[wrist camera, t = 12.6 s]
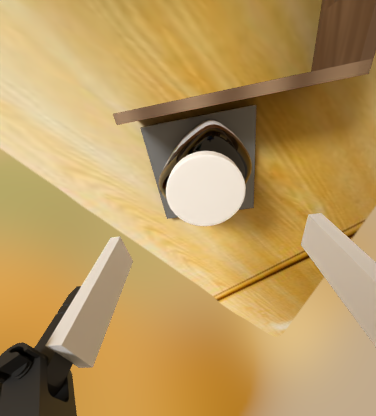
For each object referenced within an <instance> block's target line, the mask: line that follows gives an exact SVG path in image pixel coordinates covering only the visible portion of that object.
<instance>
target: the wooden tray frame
mask: <svg viewBox="0 0 376 416" xmlns="http://www.w3.org/2000/svg"><path fill="white" fill-rule="evenodd" d="M375 51H376V0H322V7H321V13H320V19H319V26H318V32H317V38H316V45H315V51H314V57H313V64H312V70H311V72H307V73H303V74H298V75H293V76H289V77H284V78H279V79H275V80H270V81H265V82H261V83H256V84H251V85H246V86H242V87H237V88H232V89H228V90H223V91H218V92H214V93H209V94H204V95H200V96H195V97H190V98H186V99H181V100H176V101H171V102H167V103H162V104H157V105H153V106H148V107H143V108H139V109H134V110H129V111H125V112H120V113H115V114H113V116H114V119H115V121H116V124H117V125H119V124H124V123H129V122H134V121H139V120H144V119H149V118H154V117H159V116H164V115H168V114H173V113H178V112H183V111H188V110H193V109H198V108H203V107H208V106H213V105H218V104H222V103H227V102H232V101H237V100H242V99H247V98H252V97H257V96H262V95H267V94H272V93H276V92H281V91H286V90H291V89H296V88H301V87H306V86H311V85H316V84H321V83H325V82H330V81H335V80H340V79H345V78H350V77H355V76H360V75H365V74H369V72H370V68H371V65H372V62H373V58H374V55H375Z"/></svg>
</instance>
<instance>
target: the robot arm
mask: <svg viewBox="0 0 376 416" xmlns="http://www.w3.org/2000/svg"><path fill="white" fill-rule="evenodd" d="M301 246H302V247H303V248H304V250H305V251H306V252H307V254H308V255H309V257H310V258H311V259H312V261H313V262H314V263H315V265H316V266H317V267H318V269H319V270H320V272H321V273H322V274H323V276H324V277H325V278H326V280H327V281H328V282H329V284H330V285H331V287H332V288H333V289H334V291H335V292H336V293H337V295H338V296H339V297H340V299H341V300H342V302H343V303H344V304H345V306H346V307H347V308H348V310H349V311H350V313H351V314H352V315H353V317H354V318H355V319H356V321H357V322H358V323H359V325H360V326H361V328H362V329H363V330H364V332H365V333H366V334H367V336H368V337H369V339H370V340H371V341H372V343H373V344H374V345H375V346H376V262H375V261H374V260H373V259H372V258H371V257H369V256H368V255H367V254H366V253H365V252H364V251H363V250H362V249H361V248H359V247H358V246H357V245H356V244H355V243H354V242H353V241H352V240H351V239H349V238H348V237H347V236H346V235H345V234H344V233H343V232H342V231H341V230H339V229H338V228H337V227H336V226H335V225H334V224H333V223H332V222H330V221H329V220H328V219H327V218H326V217H325V216H324V215H323V214H322V213H317V214H308V218H307V222H306V226H305V230H304V234H303V238H302V242H301ZM132 263H133V260H132V258H131V256H130V254H129V253H128V251H127V249H126V247H125V245H124V243H123V241H122V239H121V237H113V238H110V240H109V241H108V243H107V245H106V246H105V248H104V250H103V251H102V253H101V255H100V256H99V258H98V260H97V261H96V263H95V265H94V266H93V268H92V269H91V271H90V273H89V274H88V276H87V278H86V280H85V281H84V283H83V284H82V286H79V287H76V288H75V289H74V290H73V291H72V292H71V293H70V294H69V295H68V297H67V299H66V300H65V302H64V303H63V306H62V307H61V308H60V309H59V311H58V314H57V315H56V316H55V317H54V319H53V320H52V322H51V323H50V325H49V326H48V328H47V330H46V331H45V333H44V334H43V336H42V337H41V339H40V341H39V342H38V344H37V345H36V346H35V348H32V347H30V346H29V345H27V344H25V343H17V344H16V345H14V346H12V347H10V348H9V349H7V350H6V351H5V352H4V353H3V354H2V355H1V356H0V416H77V415H76V405H75V397H74V388H73V379H72V373H71V371H70V368H71V366H72V364H74V365H76V366H77V367H79V368H80V367H82V368H83V367H93V365H94V363H95V360H96V357H97V355H98V352H99V349H100V347H101V344H102V342H103V339H104V336H105V334H106V331H107V328H108V326H109V323H110V320H111V318H112V315H113V313H114V310H115V307H116V305H117V302H118V299H119V297H120V294H121V292H122V289H123V286H124V283H125V281H126V278H127V276H128V273H129V271H130V268H131V265H132Z"/></svg>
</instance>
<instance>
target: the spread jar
mask: <svg viewBox="0 0 376 416" xmlns="http://www.w3.org/2000/svg"><path fill="white" fill-rule="evenodd" d="M251 170H252V163H251V159H250V156H249V154H248V152H247V150H246V148H245V147H244V145H243V144H242V142H241V141H240V140H239V139H238V138H237V136H236V135H235V134H234V133H233V132H232V131H230V130H229V129H228V128H227V127H225V126H224V125H223V124H221V123H219V122H217V121H215V120H207V121H204V122H202V123H201V124H199V125H198V126H196V127H195V128H194V129H192V130H191V131H190V132H189V133H188V134H187V135H186V136H185V137H184V138H183V139H182V140H181V141H180V142H179V144H178V145H177V146H176V148H175V149H174V151H173V152H172V154H171V156H170V157H169V159H168V161H167V163H166V165H165V166H164V169H163V171H162V173H161V175H160V178H159V183H158V184H159V189H160V192H161V193H162V194H163V196H164V197H165V198H166V199H167V202H168V204H169V206H170V208H171V210H172V211H173V212H174V214H175V215H176V216H178V217H179V218H180V219H182V220H183V221H185V222H187V223H189V224H192V225H197V226H212V225H216V224H220V223H222V222H224V221H226V220H228V219H229V218H231V217H232V216H233V215H234V214H235V213H236V212H237V211H238V210H239V208H240V207H241V205H242V203H243V201H244V197H245V191H246V186H245V184H246V183H247V181H248V179H249V176H250V174H251Z"/></svg>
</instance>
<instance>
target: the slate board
mask: <svg viewBox="0 0 376 416" xmlns="http://www.w3.org/2000/svg"><path fill="white" fill-rule="evenodd" d="M207 120H215V121H217V122H219V123H221V124H223V125H224V126H225V127H227V128H228V129H229V130H230V131H232V132H233V133H234V134H235V135H236V136H237V138H238V139H239V140H240V141H241V142H242V144H243V145H244V147H245V148H246V150H247V152H248V154H249V156H250V159H251V163H252V170H251V174H250V176H249V179H248V181H247V183H246V184H245V186H246V191H245V197H244V201H243V203H242V205H241V207H240V208H239V210H240V209H248V208H254V174H255V138H256V105H250V106H245V107H240V108H235V109H230V110H225V111H220V112H215V113H210V114H205V115H200V116H195V117H190V118H185V119H180V120H175V121H169V122H164V123H159V124H154V125H149V126H144V127H141V132H142V135H143V138H144V142H145V145H146V149H147V152H148V155H149V159H150V162H151V166H152V169H153V172H154V176H155V179H156V183H157V186H158V189H159V184H158V183H159V178H160V175H161V173H162V171H163V169H164V166H165V165H166V163H167V161H168V159H169V157H170V156H171V154H172V152H173V151H174V149H175V148H176V146H177V145H178V144H179V142H180V141H181V140H182V139H183V138H184V137H185V136H186V135H187V134H188V133H189V132H190V131H191V130H192V129H194V128H195V127H196V126H198V125H199V124H201V123H202V122H204V121H207ZM159 193H160V196H161V200H162V203H163V206H164V210H165V213H166V217H167V219H168V218H176V217H178V216H176V215H175V214H174V212H173V211H172V210H171V208H170V206H169V204H168V202H167V199H166V198H165V197H164V196H163V194H162V193H161V192H160V189H159Z"/></svg>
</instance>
